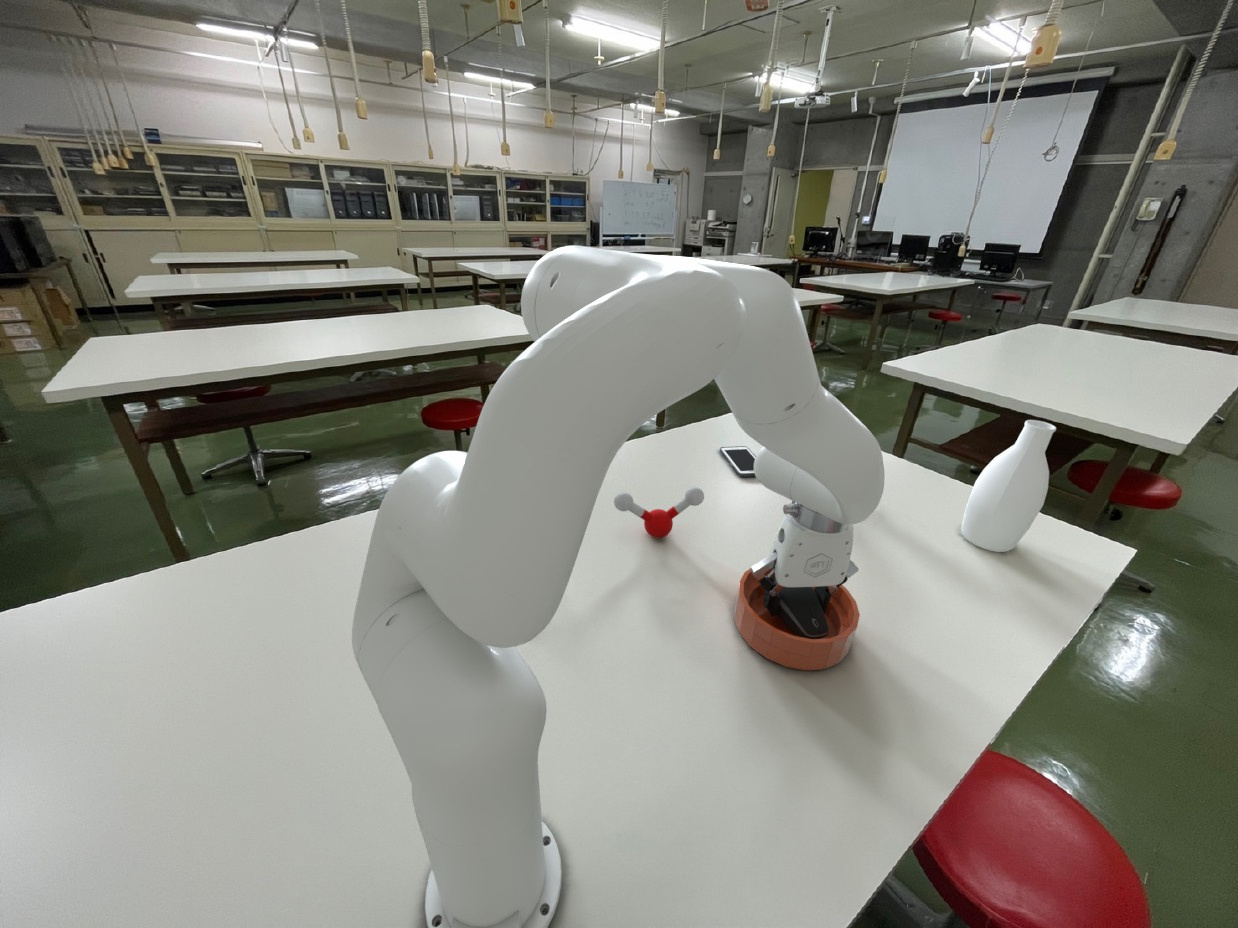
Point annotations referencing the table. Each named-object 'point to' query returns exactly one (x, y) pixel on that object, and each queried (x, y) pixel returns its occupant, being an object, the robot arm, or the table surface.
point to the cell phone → (740, 459)
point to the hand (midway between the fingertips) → (794, 607)
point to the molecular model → (659, 511)
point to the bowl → (782, 641)
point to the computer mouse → (802, 612)
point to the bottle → (1009, 491)
